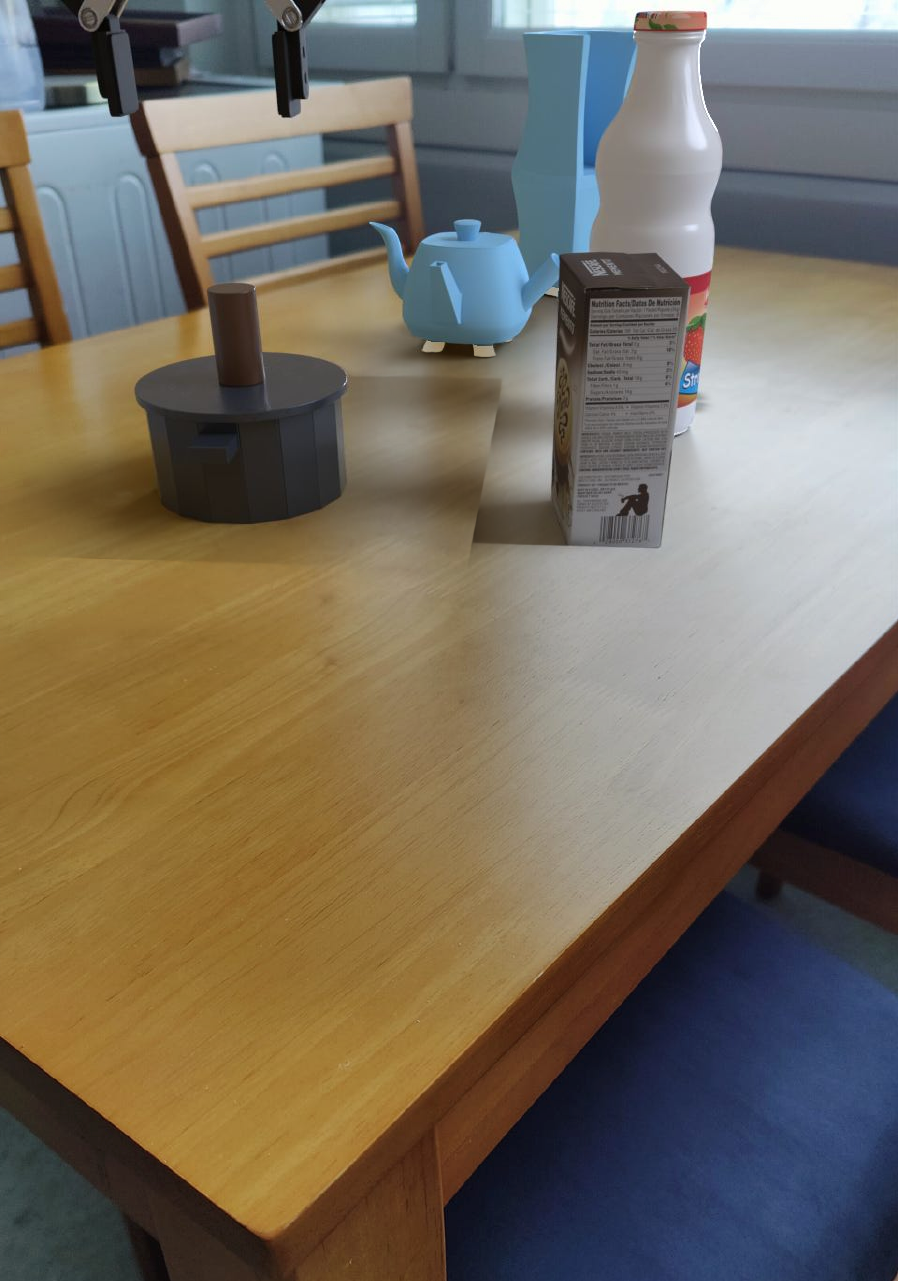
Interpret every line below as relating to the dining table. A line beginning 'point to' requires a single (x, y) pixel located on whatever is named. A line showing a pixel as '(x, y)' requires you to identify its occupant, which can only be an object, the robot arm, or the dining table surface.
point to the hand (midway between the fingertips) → (207, 115)
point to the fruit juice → (664, 173)
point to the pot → (249, 466)
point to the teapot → (466, 285)
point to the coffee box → (616, 396)
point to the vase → (566, 136)
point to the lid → (239, 372)
